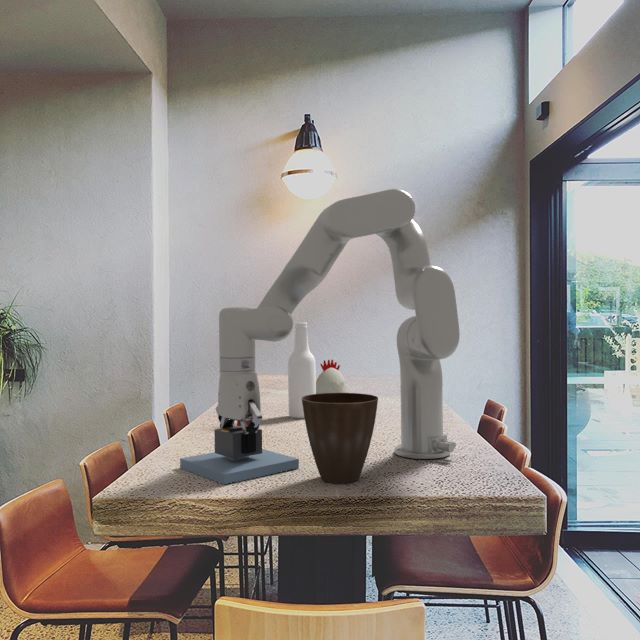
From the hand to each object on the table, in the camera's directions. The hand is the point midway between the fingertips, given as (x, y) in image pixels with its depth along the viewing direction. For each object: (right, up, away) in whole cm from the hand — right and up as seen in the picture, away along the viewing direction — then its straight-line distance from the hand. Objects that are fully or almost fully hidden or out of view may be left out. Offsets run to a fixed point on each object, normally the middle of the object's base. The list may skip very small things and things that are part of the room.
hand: (238, 449), depth 128 cm
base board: (0, -4, 0) cm, 4 cm away
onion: (-2, -4, +31) cm, 32 cm away
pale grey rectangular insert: (0, -2, 0) cm, 2 cm away
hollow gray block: (0, -1, 0) cm, 1 cm away
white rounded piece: (+22, -3, +109) cm, 111 cm away
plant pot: (+21, -4, -9) cm, 24 cm away
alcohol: (+12, -4, +65) cm, 66 cm away
